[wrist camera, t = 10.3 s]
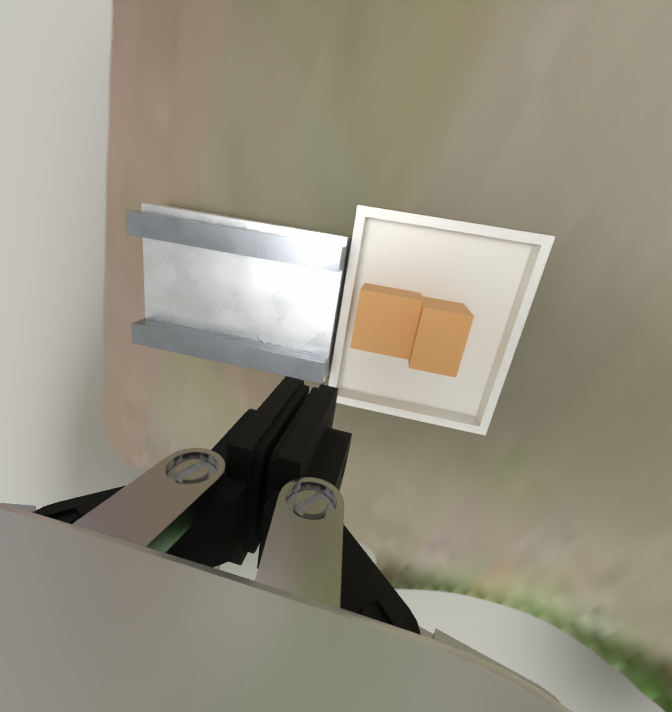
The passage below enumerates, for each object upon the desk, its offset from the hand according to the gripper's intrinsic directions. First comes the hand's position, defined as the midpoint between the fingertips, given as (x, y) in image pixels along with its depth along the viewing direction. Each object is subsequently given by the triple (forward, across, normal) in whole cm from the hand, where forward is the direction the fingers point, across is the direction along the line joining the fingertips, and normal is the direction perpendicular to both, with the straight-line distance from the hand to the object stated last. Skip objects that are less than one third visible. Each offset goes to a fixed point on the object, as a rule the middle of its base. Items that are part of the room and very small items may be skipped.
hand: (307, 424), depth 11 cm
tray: (+17, -4, 0) cm, 18 cm away
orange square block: (+14, -4, 0) cm, 15 cm away
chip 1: (+16, -1, 0) cm, 16 cm away
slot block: (+17, +9, 0) cm, 19 cm away
